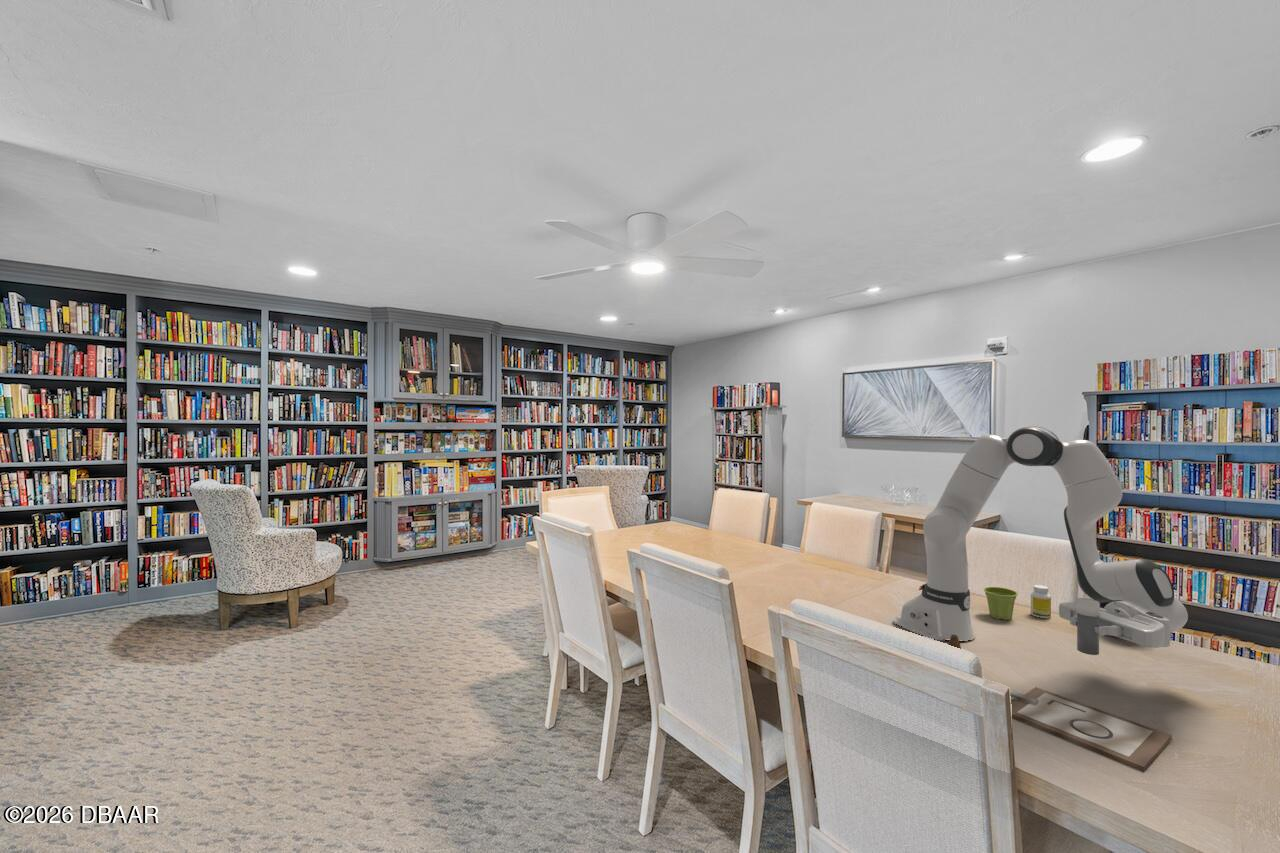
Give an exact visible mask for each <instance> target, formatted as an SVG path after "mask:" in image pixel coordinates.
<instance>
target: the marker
mask: <svg viewBox="0 0 1280 853" xmlns="http://www.w3.org/2000/svg"><path fill="white" fill-rule="evenodd" d="M1075 600H1076V601H1075V602H1076V611H1077V626H1076V647H1077V648H1076V650H1077V651H1078V652H1080V653H1082V654H1085V655H1091V656H1099V655H1100V635H1099V634H1097V633H1095V632H1094V630H1095V629H1094V627H1095V626H1096V625H1097V626H1098V625H1099V616H1100V608H1101V602H1098V601H1096V600H1093V599H1092V598H1088V597H1078V598H1076V599H1075Z"/></svg>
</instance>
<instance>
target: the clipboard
mask: <svg viewBox="0 0 1280 853" xmlns="http://www.w3.org/2000/svg"><path fill="white" fill-rule="evenodd" d="M1010 693H1011V698H1013V699H1015V700H1013V701H1012V702H1011V703H1012V717H1011V718H1012V719H1015V720H1017V721H1019V722H1021V723H1025V724H1027V725H1030V726H1032V727H1034V728H1036V729H1039V730H1041V731H1043V732H1046V733H1049V734H1052V735H1054V736H1056V737H1059V738H1061V739H1064V740H1067V741H1069V742H1071V743H1073V744H1075V745H1079V746H1081V747H1083V748H1086V749H1088V750H1091V751H1093V752H1095V753H1098V754H1101V755H1103V756H1105V757H1108V758H1110V759H1113V760H1115V761H1117V762H1120V763H1122V764H1125V765H1127V766H1130V767H1132V768H1134V769H1137V770H1139V771H1143V772H1144V771H1145V770H1146V769H1147V768H1148V767H1149V766H1150V765H1151V764H1152V763H1153V761H1154V760H1155V759H1156V758H1157V757H1158V756H1159V755H1160V754H1161V752H1162V751H1163V750H1164V749H1165V748H1166V746H1167V745H1168V744H1169V742H1171V741H1170V740H1172V739H1173V738H1172V737H1173V735H1172V734H1169V733H1167V732H1165V731H1161V730H1158V729H1155V728H1153V727H1150V726H1146V725H1144V724H1141V723H1139V722H1135V721H1132V720H1129V719H1127V718H1124V717H1121V716H1118V715H1116V714H1113V713H1109V712H1107V711H1105V710H1102V709H1099V708H1096V707H1093V706H1090V705H1087V704H1085V703H1081V702H1080V701H1076V700H1073V699H1070V698H1068V697H1066V696H1065V697H1064V696H1063V695H1059V694H1056V693H1054V692H1051V691H1049V690H1046V689H1043V688H1040V687H1037V686H1035V687H1034V688H1032V689H1031V690H1029V691H1028V692H1026V693H1021V692H1019V691H1016V690H1012V691H1011V692H1010ZM1162 749H1163V750H1162Z"/></svg>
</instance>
